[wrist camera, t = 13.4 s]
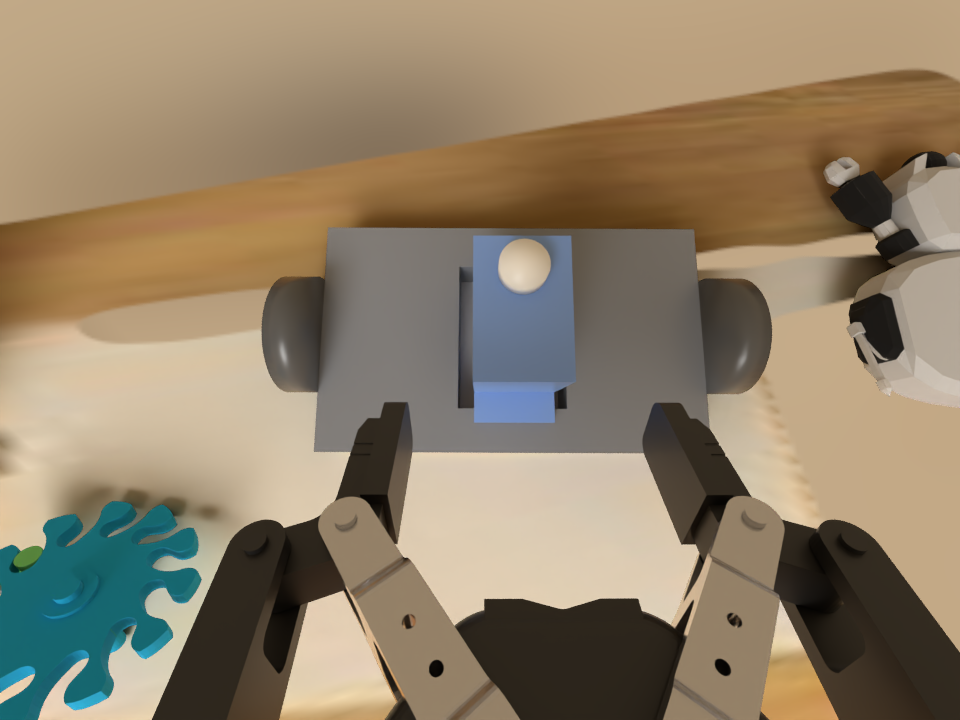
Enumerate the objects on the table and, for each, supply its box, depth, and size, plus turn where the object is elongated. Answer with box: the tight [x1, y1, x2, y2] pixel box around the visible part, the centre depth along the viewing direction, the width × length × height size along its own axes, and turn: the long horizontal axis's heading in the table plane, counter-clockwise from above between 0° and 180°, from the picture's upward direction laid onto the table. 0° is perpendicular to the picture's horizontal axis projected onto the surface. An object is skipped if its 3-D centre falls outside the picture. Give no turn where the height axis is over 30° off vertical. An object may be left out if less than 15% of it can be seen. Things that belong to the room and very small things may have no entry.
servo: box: [473, 236, 576, 423], centre depth 20 cm, size 9×4×9 cm, turn 0°
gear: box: [0, 501, 202, 720], centre depth 21 cm, size 11×6×10 cm
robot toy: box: [823, 151, 960, 408], centre depth 24 cm, size 12×4×15 cm
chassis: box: [262, 228, 772, 453], centre depth 22 cm, size 12×23×6 cm, turn 90°
